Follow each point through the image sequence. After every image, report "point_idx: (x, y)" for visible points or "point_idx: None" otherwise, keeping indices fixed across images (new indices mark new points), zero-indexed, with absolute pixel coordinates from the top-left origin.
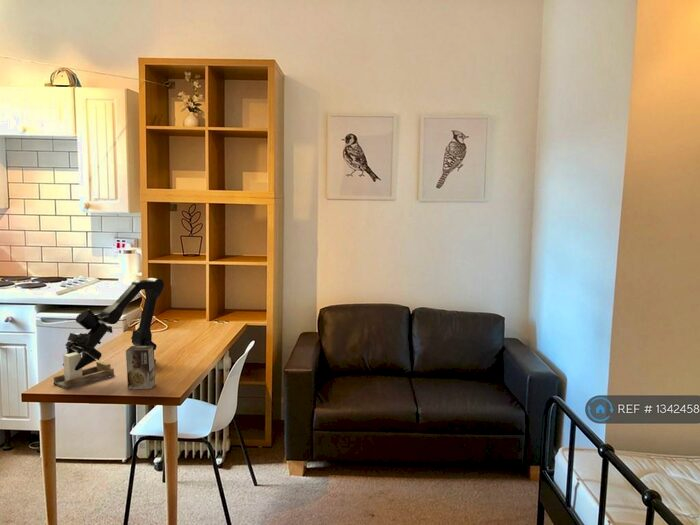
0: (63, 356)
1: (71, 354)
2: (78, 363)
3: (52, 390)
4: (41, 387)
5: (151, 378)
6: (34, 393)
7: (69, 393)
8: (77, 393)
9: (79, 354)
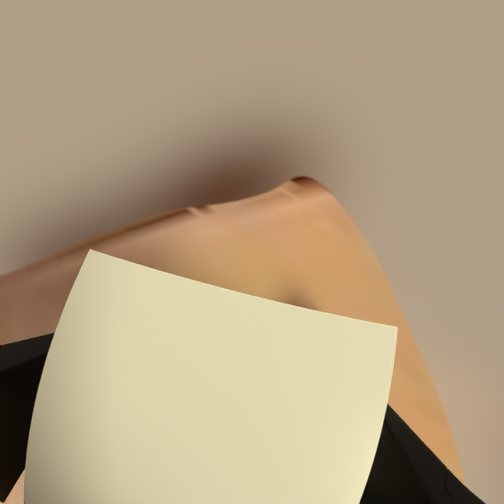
0: (369, 333)
1: (200, 472)
2: (33, 346)
3: (240, 248)
4: (350, 262)
5: None
6: (292, 189)
7: (108, 247)
8: (71, 261)
9: (27, 493)
